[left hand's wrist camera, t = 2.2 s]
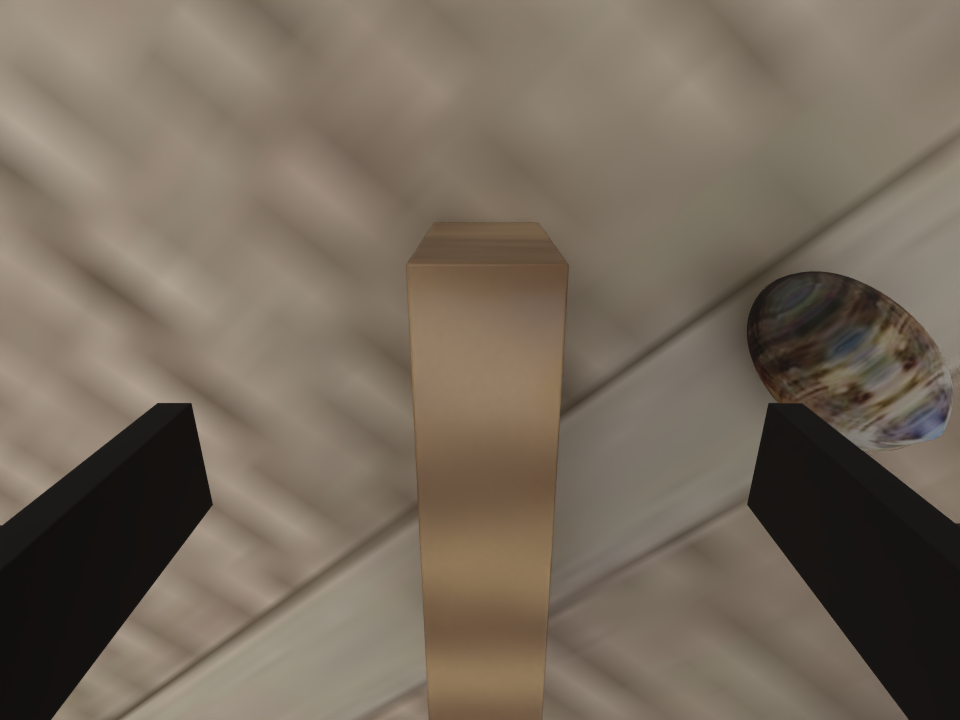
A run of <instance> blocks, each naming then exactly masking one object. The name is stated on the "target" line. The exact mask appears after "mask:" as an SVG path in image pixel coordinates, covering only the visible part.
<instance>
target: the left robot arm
mask: <svg viewBox="0 0 960 720" xmlns="http://www.w3.org/2000/svg"><path fill="white" fill-rule="evenodd" d="M212 505H213V503H212V499H211V494H210V489H209V484H208V480H207V475H206V470H205V465H204V461H203V456H202V451H201V446H200V442H199V437H198V432H197V428H196V423H195V418H194V413H193V409H192V404H191V403H157V404H156V405H155V406H153V407H152V408H151V409H150V410H148V411H147V412H146V413H145V414H143V415H142V416H141V417H139V418H138V419H137V420H136V421H134V422H133V423H132V424H131V425H129V426H128V427H127V428H126V429H124V430H123V431H122V432H120V433H119V434H118V435H117V436H115V437H114V438H113V439H112V440H110V441H109V442H108V443H106V444H105V445H104V446H103V447H101V448H100V449H99V450H98V451H96V452H95V453H94V454H92V455H91V456H90V457H89V458H87V459H86V460H85V461H84V462H82V463H81V464H80V465H79V466H77V467H76V468H75V469H73V470H72V471H71V472H70V473H68V474H67V475H66V476H65V477H63V478H62V479H61V480H59V481H58V482H57V483H56V484H54V485H53V486H52V487H51V488H49V489H48V490H47V491H45V492H44V493H43V494H42V495H40V496H39V497H38V498H37V499H35V500H34V501H33V502H32V503H30V504H29V505H28V506H26V507H25V508H24V509H23V510H21V511H20V512H19V513H18V514H16V515H15V516H14V517H12V518H11V519H10V520H9V521H7V522H6V523H5V524H4V525H0V720H51V719H52V718H53V716H54V715H55V714H56V712H57V711H58V710H59V708H60V707H61V706H62V704H63V703H64V702H65V700H66V699H67V698H68V697H69V695H70V694H71V693H72V691H73V690H74V689H75V687H76V686H77V685H78V683H79V682H80V681H81V679H82V678H83V677H84V675H85V674H86V673H87V671H88V670H89V669H90V667H91V666H92V665H93V663H94V662H95V661H96V659H97V658H98V657H99V655H100V654H101V653H102V651H103V650H104V649H105V647H106V646H107V645H108V643H109V642H110V641H111V639H112V638H113V637H114V635H115V634H116V633H117V631H118V630H119V629H120V627H121V626H122V625H123V623H124V622H125V621H126V619H127V618H128V617H129V615H130V614H131V613H132V611H133V610H134V609H135V607H136V606H137V605H138V603H139V602H140V601H141V599H142V598H143V597H144V595H145V594H146V593H147V591H148V590H149V589H150V587H151V586H152V585H153V584H154V582H155V581H156V580H157V578H158V577H159V576H160V574H161V573H162V572H163V570H164V569H165V568H166V566H167V565H168V564H169V562H170V561H171V560H172V558H173V557H174V556H175V554H176V553H177V552H178V550H179V549H180V548H181V546H182V545H183V544H184V542H185V541H186V540H187V538H188V537H189V536H190V534H191V533H192V532H193V530H194V529H195V528H196V526H197V525H198V524H199V522H200V521H201V520H202V518H203V517H204V516H205V514H206V513H207V512H208V510H209V509H210V508H211V506H212ZM747 505H748V506H749V508H750V509H751V510H752V512H753V513H754V514H755V516H756V517H757V518H758V520H759V521H760V522H761V524H762V525H763V526H764V528H765V529H766V530H767V532H768V533H769V534H770V536H771V537H772V538H773V540H774V541H775V542H776V544H777V545H778V546H779V548H780V549H781V550H782V552H783V553H784V554H785V556H786V557H787V558H788V560H789V561H790V562H791V564H792V565H793V566H794V568H795V569H796V570H797V572H798V573H799V574H800V576H801V577H802V578H803V580H804V581H805V582H806V584H807V585H808V586H809V587H810V589H811V590H812V591H813V593H814V594H815V595H816V597H817V598H818V599H819V601H820V602H821V603H822V605H823V606H824V607H825V609H826V610H827V611H828V613H829V614H830V615H831V617H832V618H833V619H834V621H835V622H836V623H837V625H838V626H839V627H840V629H841V630H842V631H843V633H844V634H845V635H846V637H847V638H848V639H849V641H850V642H851V643H852V645H853V646H854V647H855V649H856V650H857V651H858V653H859V654H860V655H861V657H862V658H863V659H864V661H865V662H866V663H867V665H868V666H869V667H870V669H871V670H872V671H873V673H874V674H875V675H876V677H877V678H878V679H879V681H880V682H881V683H882V685H883V686H884V687H885V689H886V690H887V691H888V693H889V694H890V695H891V697H892V698H893V699H894V700H895V702H896V703H897V704H898V706H899V707H900V708H901V710H902V711H903V712H904V714H905V715H906V716H907V718H908V719H909V720H960V524H955V523H954V522H953V521H951V520H950V519H949V518H948V517H946V516H945V515H944V514H942V513H941V512H940V511H939V510H937V509H936V508H935V507H934V506H932V505H931V504H930V503H928V502H927V501H926V500H925V499H923V498H922V497H921V496H920V495H918V494H917V493H916V492H915V491H913V490H912V489H911V488H909V487H908V486H907V485H906V484H904V483H903V482H902V481H901V480H899V479H898V478H897V477H895V476H894V475H893V474H892V473H890V472H889V471H888V470H887V469H885V468H884V467H883V466H881V465H880V464H879V463H878V462H876V461H875V460H874V459H873V458H871V457H870V456H869V455H868V454H866V453H865V452H864V451H862V450H861V449H860V448H859V447H857V446H856V445H855V444H854V443H852V442H851V441H850V440H848V439H847V438H846V437H845V436H843V435H842V434H841V433H840V432H838V431H837V430H836V429H834V428H833V427H832V426H831V425H829V424H828V423H827V422H826V421H824V420H823V419H822V418H821V417H819V416H818V415H817V414H815V413H814V412H813V411H812V410H810V409H809V408H808V407H807V406H805V405H804V404H803V403H769V404H768V409H767V413H766V418H765V423H764V428H763V432H762V437H761V442H760V446H759V451H758V456H757V461H756V465H755V470H754V475H753V480H752V484H751V489H750V494H749V499H748V503H747Z"/></svg>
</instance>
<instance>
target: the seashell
mask: <svg viewBox="0 0 960 720" xmlns="http://www.w3.org/2000/svg"><path fill="white" fill-rule="evenodd" d="M747 340H748V346H749V351H750V354H751V358H752V361H753V363H754V366H755V368H756V370H757V372H758V374H759V376H760V378H761V380H762V382H763V383H764V385H765V386H766V388H767V389H768V391H769V392H770V394H771V395H772V396H773V397H774V399H775V400H776V401H777V402H778V403H803V404H804V405H805V406H807V407H808V408H809V409H810V410H812V411H813V412H814V413H815V414H817V415H818V416H819V417H821V418H822V419H823V420H824V421H826V422H827V423H828V424H829V425H831V426H832V427H833V428H834V429H836V430H837V431H838V432H840V433H841V434H842V435H843V436H845V437H846V438H847V439H848V440H850V441H851V442H852V443H854V444H855V445H856V446H857V447H859V448H860V449H861V450H865V451H889V450H896V449H900V448H903V447H907V446H909V445H911V444H914V443H919V442H925V441H929V440H933V439H935V438H938V437H939V436H940V435H941V434H942V433H943V432H944V430H945V427H946V425H947V423H948V420H949V417H950V414H951V410H952V404H953V386H952V380H951V376H950V372H949V369H948V367H947V364H946V361H945V359H944V357H943V355H942V353H941V352H940V350H939V348H938V347H937V345H936V343H935V342H934V340H933V339H932V338H931V336H930V335H929V334H928V332H927V331H926V330H925V329H924V328H923V327H922V326H921V324H920V323H919V322H918V321H917V320H916V319H915V318H914V317H913V316H912V315H910V314H909V313H908V312H907V311H906V310H905V309H904V308H902V307H901V306H900V305H899V304H897V303H896V302H895V301H893V300H892V299H890V298H889V297H887V296H886V295H884V294H883V293H881V292H879V291H878V290H876V289H874V288H872V287H870V286H868V285H866V284H864V283H862V282H860V281H857V280H855V279H852V278H849V277H846V276H843V275H839V274H834V273H828V272H802V273H797V274H792V275H788V276H785V277H782V278H780V279H778V280H775V281H774V282H772V283H771V284H769V285H768V286H767V287H766V288H765V289H764V290H763V291H762V292H761V293H760V294H759V295H758V297H757V298H756V300H755V302H754V304H753V306H752V308H751V311H750V313H749V318H748V323H747Z"/></svg>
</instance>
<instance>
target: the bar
mask: <svg viewBox="0 0 960 720" xmlns="http://www.w3.org/2000/svg"><path fill="white" fill-rule="evenodd" d="M568 271H569V265H568V263H567V262H566V260H565V259H564V257H563V256H562V255H561V253H560V252H559V251H558V249H557V248H556V246H555V245H554V244H553V242H552V241H551V240H550V238H549V237H548V235H547V234H546V233H545V231H544V230H543V229H542V227H541V226H540V224H539V223H434V224H433V225H432V227H431V228H430V230H429V231H428V233H427V234H426V236H425V237H424V239H423V240H422V242H421V243H420V245H419V246H418V248H417V249H416V251H415V252H414V254H413V255H412V257H411V258H410V260H409V261H408V263H407V265H406V273H407V293H408V313H409V333H410V353H411V373H412V393H413V413H414V433H415V453H416V473H417V493H418V513H419V533H420V553H421V573H422V593H423V613H424V633H425V653H426V673H427V693H428V713H429V720H542V715H543V698H544V681H545V663H546V646H547V629H548V612H549V595H550V578H551V561H552V544H553V527H554V510H555V493H556V476H557V458H558V441H559V424H560V407H561V390H562V373H563V356H564V339H565V322H566V305H567V288H568Z"/></svg>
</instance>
